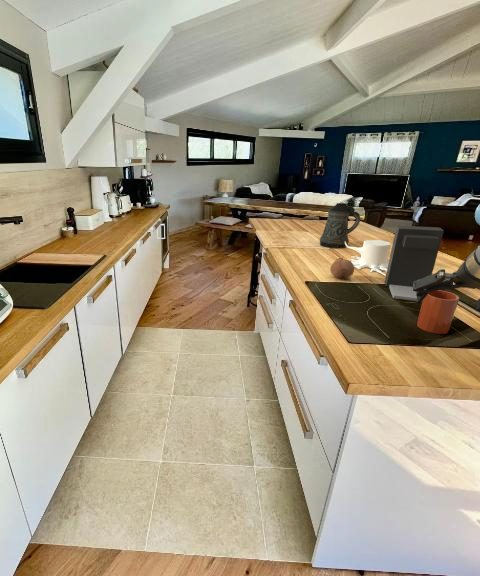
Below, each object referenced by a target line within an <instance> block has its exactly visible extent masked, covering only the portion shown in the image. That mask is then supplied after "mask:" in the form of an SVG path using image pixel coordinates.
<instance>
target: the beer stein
mask: <svg viewBox="0 0 480 576" xmlns="http://www.w3.org/2000/svg"><path fill="white" fill-rule="evenodd" d="M327 215H328V216H327V219H326V223H325V226H324V229H323V231H322V234H321V236H320V237H319V246H321V247H323V248H327V249H328V248H329V249H346V248H347V247H346V245H345V241H346V243H347V245H348V246H349V243H350V239H349V234H350V233H352V232H353V231H354V230H355V229H356V228H357V227H358V226H359V224H360V222H361V215H360V214H359V212H357V211H356V209H355V207H354V206H350V205H347V203H343V202H338V203H336V204H334V206H332V207H331V208H329V209H328V210H327ZM349 217H353V218H354V219H355V221H354V223H353V225H351V226H350V227H349Z"/></svg>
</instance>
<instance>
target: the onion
mask: <svg viewBox="0 0 480 576" xmlns="http://www.w3.org/2000/svg"><path fill="white" fill-rule="evenodd" d="M349 260H350V259H345V258H343V257H338V258H336V259H335V260H334V261H333V262H332V264H331V265H330V268H329V269H330V273H331V275H332V276H333V277H334V278H336V279H338V280H343V281H344V280H346V279H349V278H350V277H351V276H353V274H354V272H355V268H354V265H353V264H352V262H351V261H349Z"/></svg>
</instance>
